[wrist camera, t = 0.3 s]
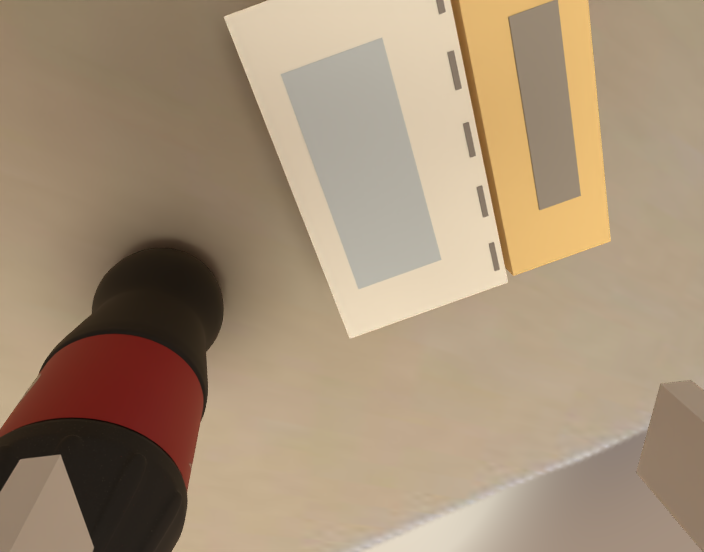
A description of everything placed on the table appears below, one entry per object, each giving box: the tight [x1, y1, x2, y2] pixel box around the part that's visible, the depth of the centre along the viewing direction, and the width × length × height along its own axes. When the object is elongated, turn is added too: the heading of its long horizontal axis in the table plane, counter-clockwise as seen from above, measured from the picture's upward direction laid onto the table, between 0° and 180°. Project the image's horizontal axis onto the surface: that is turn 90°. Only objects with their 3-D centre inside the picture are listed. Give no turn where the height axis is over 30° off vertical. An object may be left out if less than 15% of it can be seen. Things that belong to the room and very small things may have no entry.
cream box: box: [224, 0, 508, 339], centre depth 31 cm, size 18×10×10 cm, turn 18°
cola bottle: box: [0, 248, 223, 552], centre depth 25 cm, size 8×8×30 cm
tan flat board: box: [451, 0, 611, 276], centre depth 26 cm, size 17×6×1 cm, turn 18°
